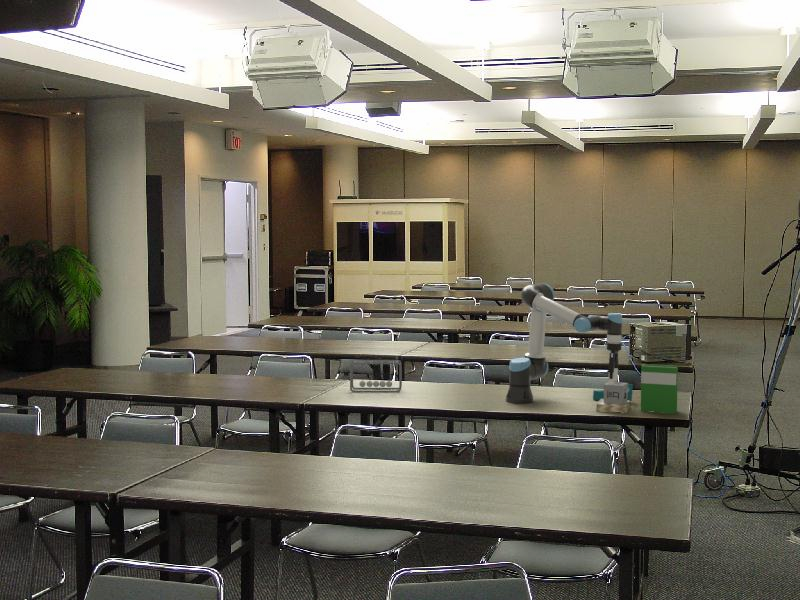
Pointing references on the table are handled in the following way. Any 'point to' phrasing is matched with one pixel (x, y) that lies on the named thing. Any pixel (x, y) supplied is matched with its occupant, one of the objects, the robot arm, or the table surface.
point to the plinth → (612, 407)
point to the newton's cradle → (376, 383)
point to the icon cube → (616, 393)
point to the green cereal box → (659, 388)
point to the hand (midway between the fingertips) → (613, 382)
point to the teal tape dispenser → (600, 393)
